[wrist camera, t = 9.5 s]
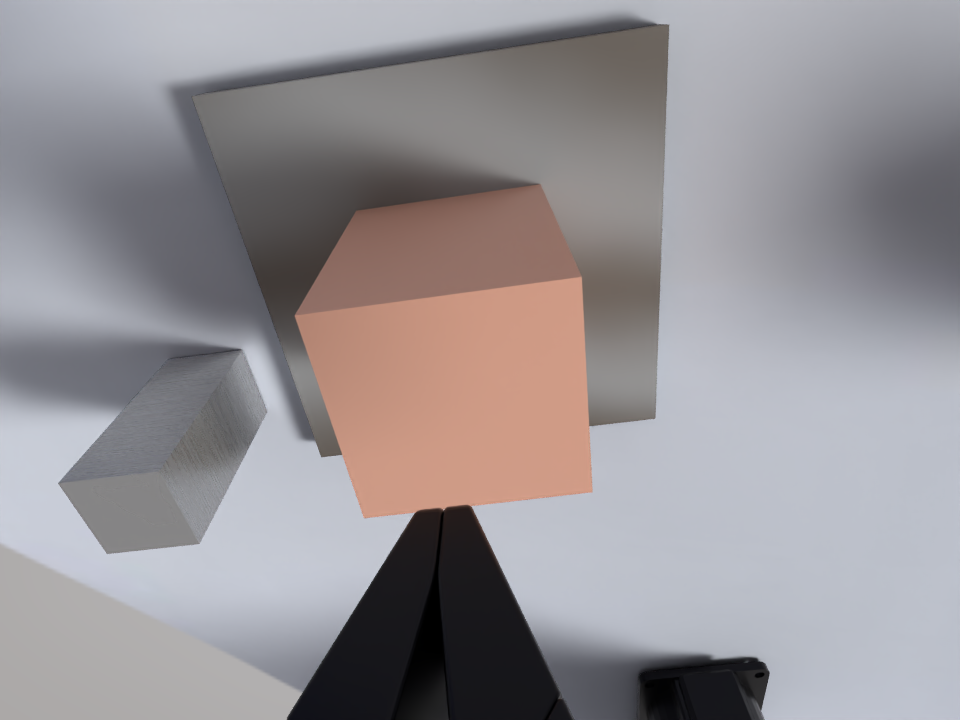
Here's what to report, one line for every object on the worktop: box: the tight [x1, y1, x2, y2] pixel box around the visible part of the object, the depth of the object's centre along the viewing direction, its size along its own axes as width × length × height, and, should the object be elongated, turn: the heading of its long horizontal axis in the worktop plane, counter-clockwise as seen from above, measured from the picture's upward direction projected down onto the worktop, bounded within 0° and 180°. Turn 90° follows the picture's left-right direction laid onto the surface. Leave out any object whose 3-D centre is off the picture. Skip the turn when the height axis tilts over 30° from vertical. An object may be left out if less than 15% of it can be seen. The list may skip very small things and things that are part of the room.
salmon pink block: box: [295, 184, 592, 518], centre depth 14 cm, size 5×5×7 cm
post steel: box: [58, 350, 267, 554], centre depth 17 cm, size 3×3×6 cm
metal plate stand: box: [192, 24, 669, 457], centre depth 15 cm, size 12×12×6 cm
